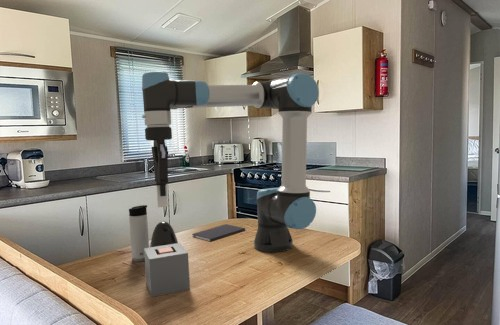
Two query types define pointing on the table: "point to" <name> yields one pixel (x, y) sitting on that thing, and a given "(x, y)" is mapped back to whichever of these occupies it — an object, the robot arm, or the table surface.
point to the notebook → (218, 232)
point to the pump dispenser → (163, 235)
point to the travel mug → (138, 232)
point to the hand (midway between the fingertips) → (162, 206)
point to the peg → (164, 250)
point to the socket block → (167, 270)
